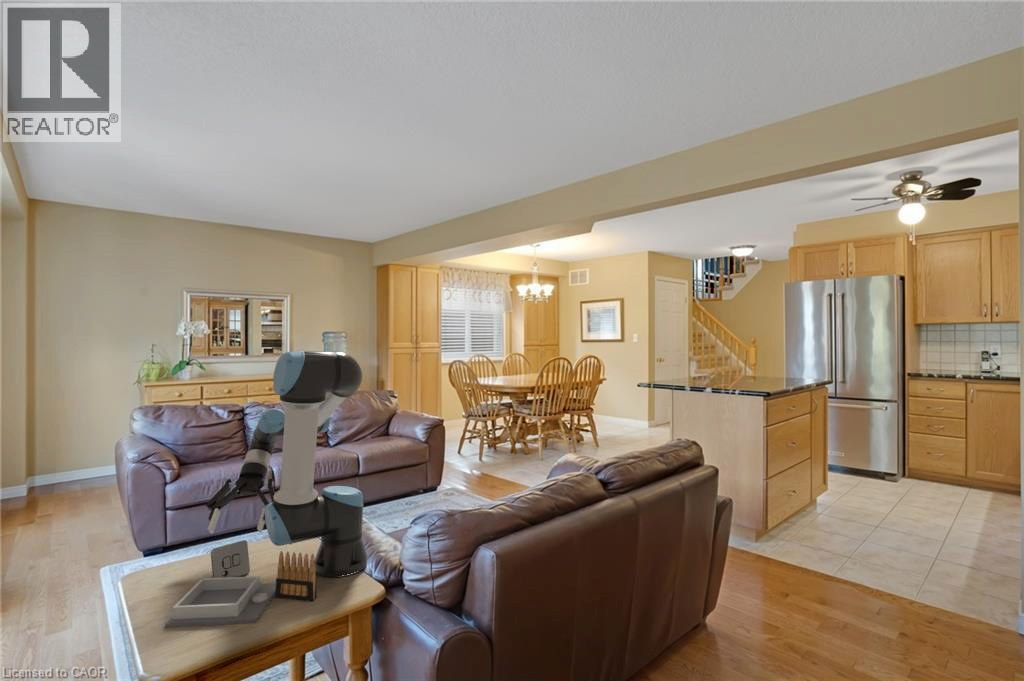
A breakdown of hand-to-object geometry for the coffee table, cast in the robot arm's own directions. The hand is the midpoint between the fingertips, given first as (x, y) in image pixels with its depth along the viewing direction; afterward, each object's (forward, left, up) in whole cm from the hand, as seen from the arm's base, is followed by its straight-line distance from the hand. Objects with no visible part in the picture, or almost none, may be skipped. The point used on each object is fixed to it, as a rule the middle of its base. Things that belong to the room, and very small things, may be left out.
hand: (234, 531), depth 148 cm
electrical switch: (-1, +6, -11) cm, 12 cm away
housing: (-7, +22, -11) cm, 25 cm away
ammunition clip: (-23, +20, -11) cm, 32 cm away
